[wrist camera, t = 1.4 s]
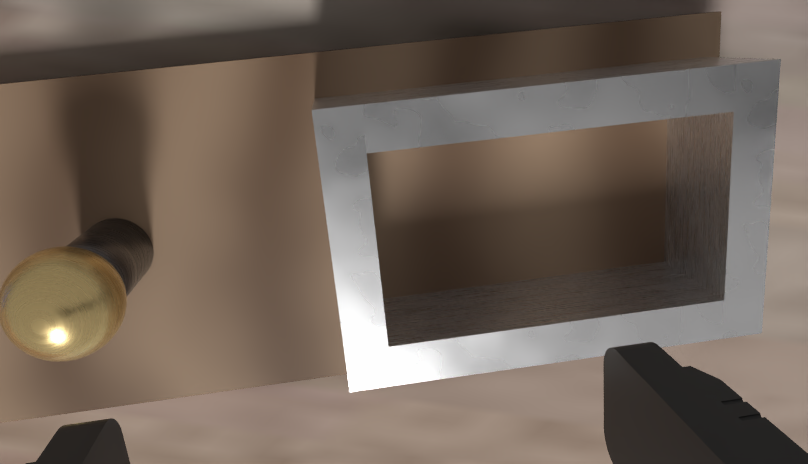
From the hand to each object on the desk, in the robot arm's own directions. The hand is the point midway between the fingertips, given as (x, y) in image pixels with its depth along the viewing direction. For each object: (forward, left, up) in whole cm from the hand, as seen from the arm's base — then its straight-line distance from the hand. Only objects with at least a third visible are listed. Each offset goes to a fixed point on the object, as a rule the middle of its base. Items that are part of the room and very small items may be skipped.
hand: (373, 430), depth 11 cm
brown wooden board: (+2, 0, -15) cm, 15 cm away
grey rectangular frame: (-6, 0, -13) cm, 15 cm away
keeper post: (+8, 0, -13) cm, 16 cm away
